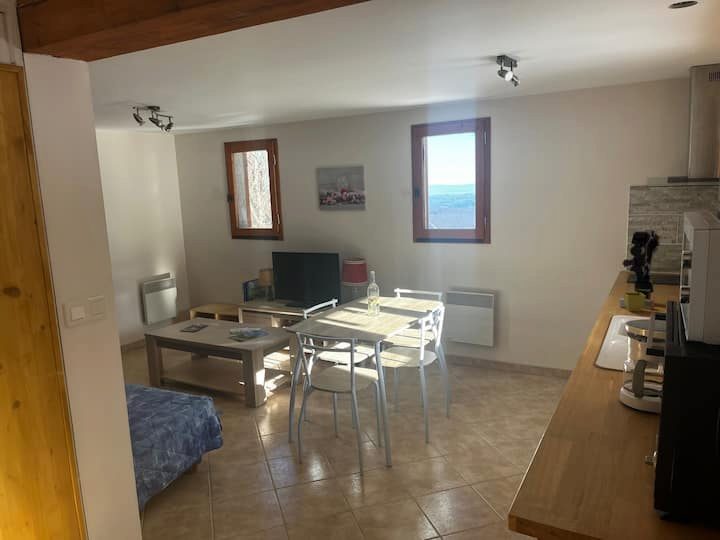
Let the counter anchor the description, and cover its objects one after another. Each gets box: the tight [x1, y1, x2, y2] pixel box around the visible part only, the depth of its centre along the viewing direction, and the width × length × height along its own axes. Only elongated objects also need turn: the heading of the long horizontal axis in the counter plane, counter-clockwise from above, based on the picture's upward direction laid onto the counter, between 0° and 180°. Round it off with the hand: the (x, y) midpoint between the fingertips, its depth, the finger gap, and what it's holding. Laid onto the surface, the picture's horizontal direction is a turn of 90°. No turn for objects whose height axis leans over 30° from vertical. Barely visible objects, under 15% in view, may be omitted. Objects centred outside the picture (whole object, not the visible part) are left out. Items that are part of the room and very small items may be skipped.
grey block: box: [619, 297, 627, 309], centre depth 292 cm, size 4×4×4 cm
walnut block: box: [642, 299, 655, 310], centre depth 288 cm, size 4×4×4 cm
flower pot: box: [623, 291, 646, 312], centre depth 283 cm, size 9×9×9 cm
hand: (639, 282), depth 292 cm, fingers closed
